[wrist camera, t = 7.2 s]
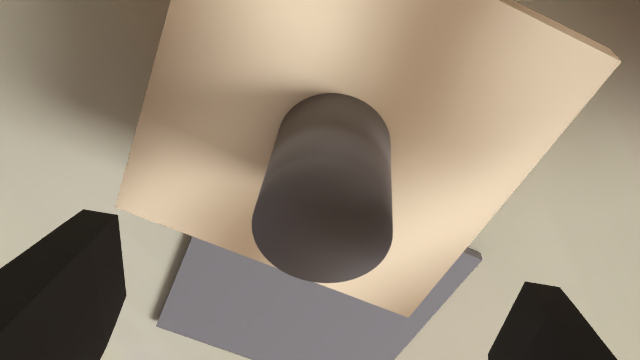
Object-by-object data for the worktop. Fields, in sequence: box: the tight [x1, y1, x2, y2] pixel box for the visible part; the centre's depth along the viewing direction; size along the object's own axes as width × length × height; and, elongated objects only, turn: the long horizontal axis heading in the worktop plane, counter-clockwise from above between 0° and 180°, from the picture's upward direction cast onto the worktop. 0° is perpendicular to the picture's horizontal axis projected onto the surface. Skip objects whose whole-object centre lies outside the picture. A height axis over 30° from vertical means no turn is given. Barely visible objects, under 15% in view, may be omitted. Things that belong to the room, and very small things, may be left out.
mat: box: [156, 236, 482, 360], centre depth 24 cm, size 11×11×1 cm
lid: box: [116, 0, 621, 318], centre depth 13 cm, size 10×10×4 cm
